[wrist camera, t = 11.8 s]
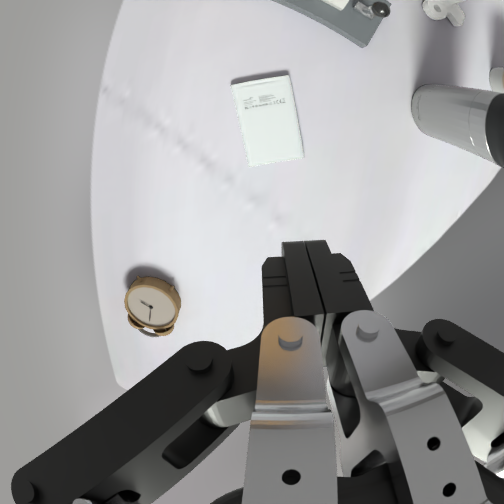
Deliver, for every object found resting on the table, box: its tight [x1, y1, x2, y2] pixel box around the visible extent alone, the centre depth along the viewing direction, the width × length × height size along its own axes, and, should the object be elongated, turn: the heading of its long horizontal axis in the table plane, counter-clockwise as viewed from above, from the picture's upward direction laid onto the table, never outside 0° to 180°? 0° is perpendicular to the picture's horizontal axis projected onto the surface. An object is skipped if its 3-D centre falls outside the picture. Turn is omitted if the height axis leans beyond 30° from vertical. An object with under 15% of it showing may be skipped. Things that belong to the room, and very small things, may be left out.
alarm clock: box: [124, 276, 181, 337], centre depth 52 cm, size 11×5×15 cm
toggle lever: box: [353, 1, 390, 20], centre depth 20 cm, size 3×2×10 cm
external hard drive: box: [231, 75, 304, 167], centre depth 35 cm, size 2×8×12 cm
